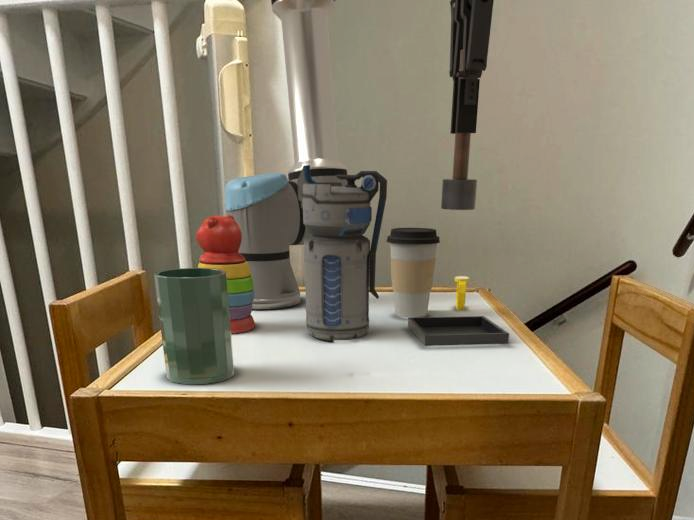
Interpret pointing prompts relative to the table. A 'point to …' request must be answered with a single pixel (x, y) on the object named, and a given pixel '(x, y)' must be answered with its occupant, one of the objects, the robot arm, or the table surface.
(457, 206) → the brush
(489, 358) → the table surface
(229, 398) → the table surface
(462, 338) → the tray
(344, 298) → the grey grenade canister
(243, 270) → the stacking bear
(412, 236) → the coffee cup
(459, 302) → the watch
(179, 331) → the tumbler
